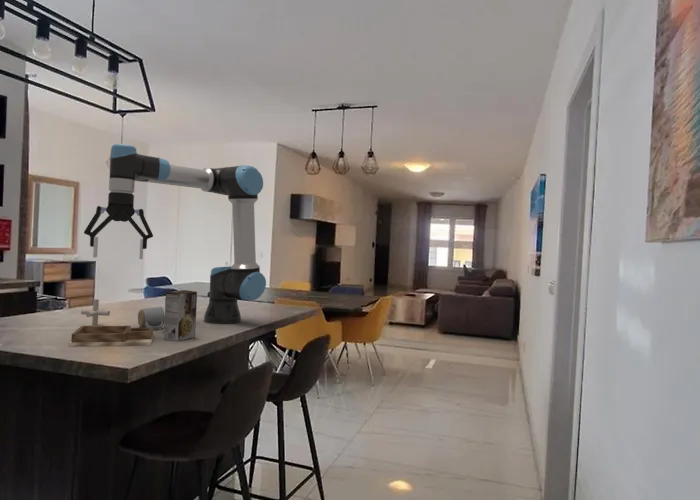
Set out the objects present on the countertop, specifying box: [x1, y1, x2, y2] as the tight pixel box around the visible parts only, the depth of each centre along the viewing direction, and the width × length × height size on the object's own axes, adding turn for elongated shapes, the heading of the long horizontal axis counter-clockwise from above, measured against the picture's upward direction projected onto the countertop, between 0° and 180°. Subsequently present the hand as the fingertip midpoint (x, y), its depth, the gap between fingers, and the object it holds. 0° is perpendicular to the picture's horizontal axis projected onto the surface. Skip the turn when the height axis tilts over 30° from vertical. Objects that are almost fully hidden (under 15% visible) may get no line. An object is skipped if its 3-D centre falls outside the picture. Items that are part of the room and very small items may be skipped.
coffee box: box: [163, 289, 198, 342], centre depth 171 cm, size 9×6×16 cm
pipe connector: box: [80, 298, 111, 326], centre depth 186 cm, size 10×10×10 cm
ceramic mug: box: [137, 306, 165, 331], centre depth 188 cm, size 11×8×8 cm
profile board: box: [68, 325, 155, 347], centre depth 162 cm, size 23×17×4 cm
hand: (118, 258), depth 162 cm, fingers open, 13 cm apart
